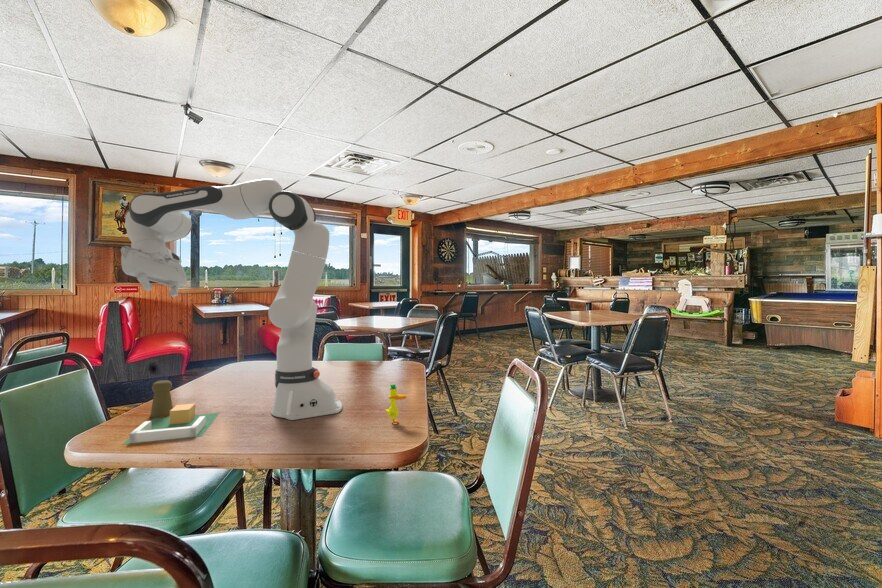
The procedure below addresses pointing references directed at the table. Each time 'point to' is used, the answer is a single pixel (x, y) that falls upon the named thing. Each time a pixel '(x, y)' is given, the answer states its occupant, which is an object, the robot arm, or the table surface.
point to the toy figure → (394, 402)
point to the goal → (165, 432)
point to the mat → (180, 424)
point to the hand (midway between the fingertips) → (162, 292)
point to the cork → (161, 399)
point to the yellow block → (182, 413)
